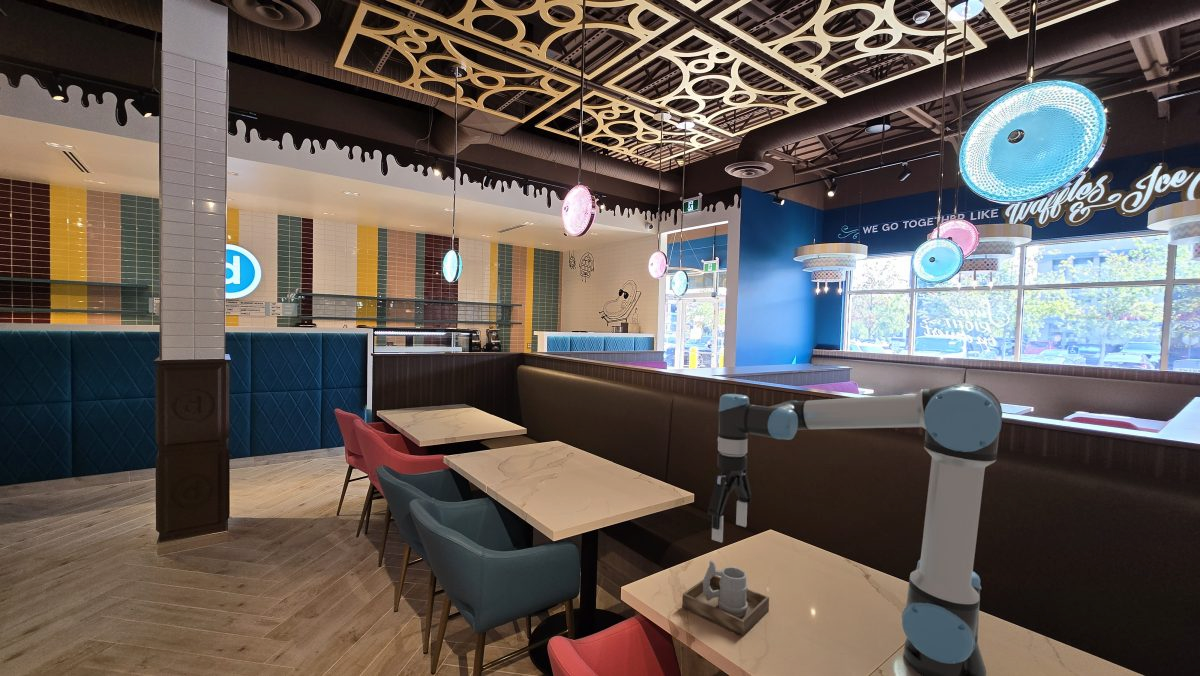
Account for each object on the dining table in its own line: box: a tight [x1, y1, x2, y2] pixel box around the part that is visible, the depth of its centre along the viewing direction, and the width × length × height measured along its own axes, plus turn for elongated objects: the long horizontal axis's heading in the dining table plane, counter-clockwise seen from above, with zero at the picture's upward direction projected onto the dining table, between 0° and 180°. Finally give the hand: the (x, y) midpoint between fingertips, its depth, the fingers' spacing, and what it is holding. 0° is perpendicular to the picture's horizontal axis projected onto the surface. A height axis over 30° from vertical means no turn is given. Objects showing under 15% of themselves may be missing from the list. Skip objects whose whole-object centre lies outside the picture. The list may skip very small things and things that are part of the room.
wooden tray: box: [681, 575, 770, 638], centre depth 130 cm, size 17×15×4 cm
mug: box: [702, 559, 749, 617], centre depth 129 cm, size 8×12×12 cm, turn 70°
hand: (729, 532), depth 129 cm, fingers open, 13 cm apart
